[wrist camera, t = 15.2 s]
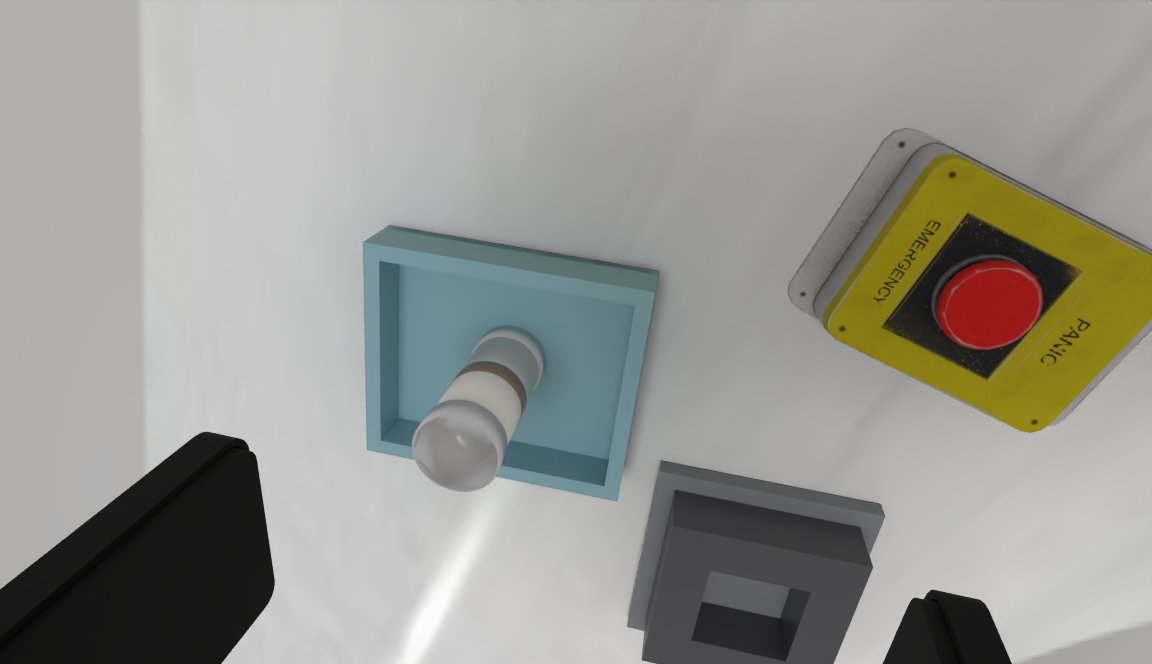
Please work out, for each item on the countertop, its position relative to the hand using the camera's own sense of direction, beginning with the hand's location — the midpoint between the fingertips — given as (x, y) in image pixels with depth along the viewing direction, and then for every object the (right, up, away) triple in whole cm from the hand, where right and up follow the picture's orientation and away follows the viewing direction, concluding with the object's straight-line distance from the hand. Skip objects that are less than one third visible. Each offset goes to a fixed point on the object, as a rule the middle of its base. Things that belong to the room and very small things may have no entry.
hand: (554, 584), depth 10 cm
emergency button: (+19, +6, +22) cm, 30 cm away
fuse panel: (+10, -10, +30) cm, 33 cm away
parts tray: (-3, +2, +27) cm, 27 cm away
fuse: (-3, +2, +26) cm, 27 cm away
